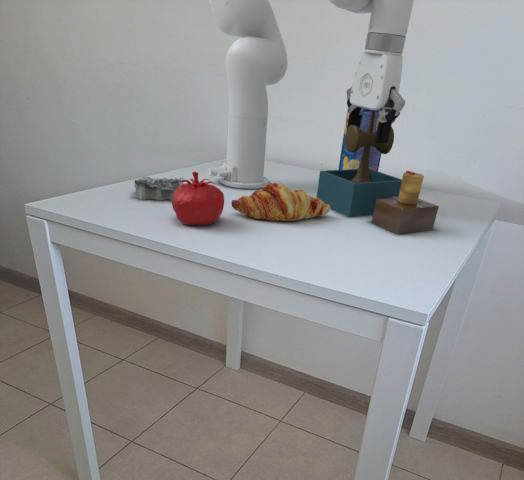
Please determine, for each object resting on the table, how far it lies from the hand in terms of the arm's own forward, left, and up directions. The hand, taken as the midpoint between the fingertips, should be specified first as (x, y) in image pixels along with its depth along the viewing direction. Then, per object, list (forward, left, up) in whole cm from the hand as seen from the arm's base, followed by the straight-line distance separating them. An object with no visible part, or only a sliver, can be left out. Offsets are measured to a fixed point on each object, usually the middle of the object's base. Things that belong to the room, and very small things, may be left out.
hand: (366, 138), depth 105 cm
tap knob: (0, -16, -10) cm, 18 cm away
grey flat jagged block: (-41, +19, -15) cm, 47 cm away
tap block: (0, -16, -15) cm, 21 cm away
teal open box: (0, -1, -15) cm, 15 cm away
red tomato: (-40, -1, -15) cm, 42 cm away
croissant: (-22, -3, -15) cm, 26 cm away
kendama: (0, -1, -14) cm, 14 cm away
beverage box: (+14, +17, -15) cm, 27 cm away
